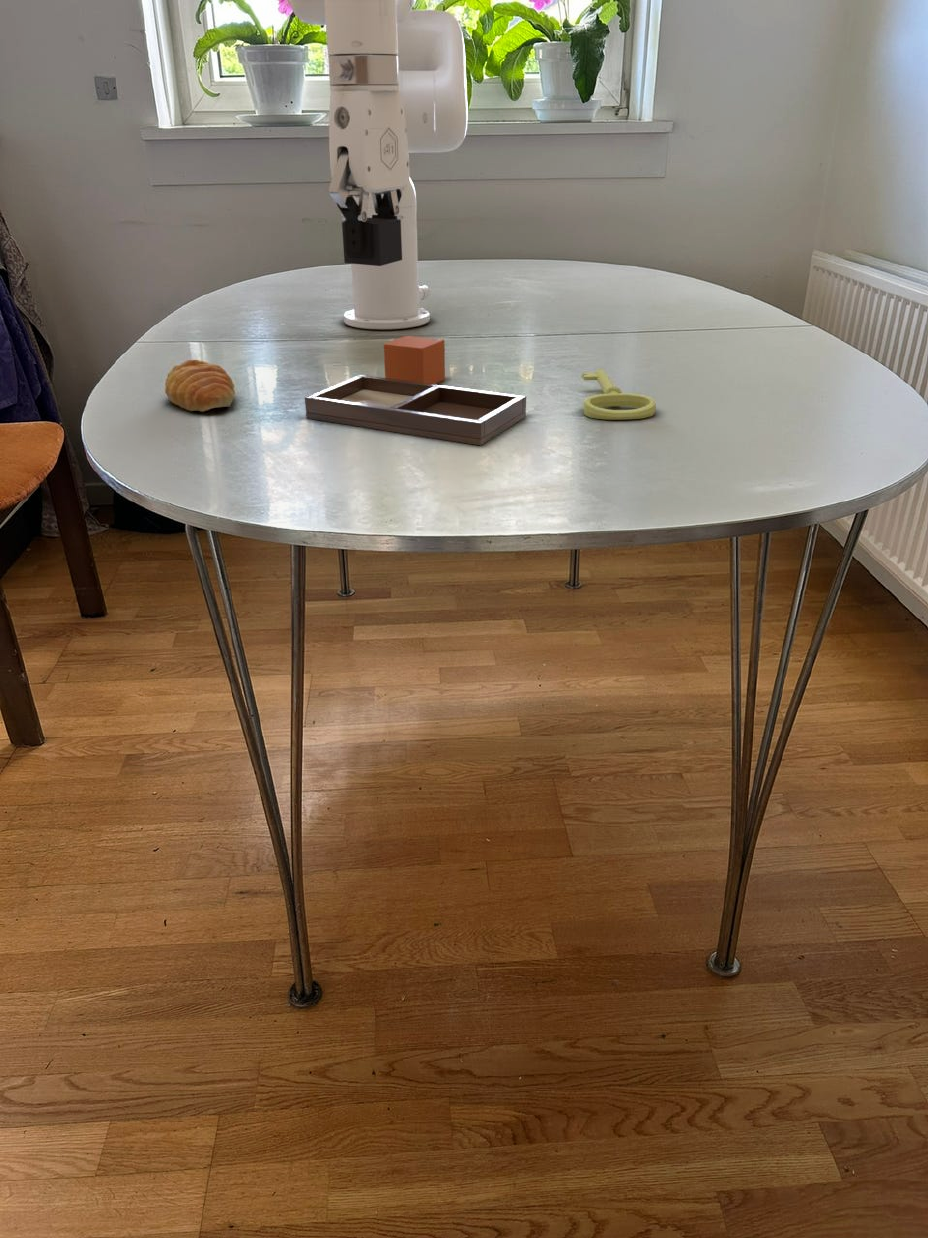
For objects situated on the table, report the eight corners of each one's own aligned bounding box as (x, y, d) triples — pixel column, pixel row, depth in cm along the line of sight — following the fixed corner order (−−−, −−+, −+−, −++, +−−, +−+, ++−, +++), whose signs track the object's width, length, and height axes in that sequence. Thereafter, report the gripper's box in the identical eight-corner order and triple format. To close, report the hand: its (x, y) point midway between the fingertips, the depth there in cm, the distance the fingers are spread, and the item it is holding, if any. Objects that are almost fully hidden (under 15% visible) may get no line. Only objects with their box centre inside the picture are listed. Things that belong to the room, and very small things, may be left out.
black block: (367, 257, 111) (365, 217, 109) (402, 259, 109) (401, 219, 107) (344, 263, 108) (341, 221, 105) (380, 266, 106) (378, 223, 103)
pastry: (251, 409, 95) (246, 372, 93) (186, 419, 92) (180, 381, 90) (222, 389, 102) (217, 354, 100) (161, 398, 99) (155, 362, 97)
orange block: (407, 374, 107) (406, 335, 105) (445, 379, 105) (444, 339, 103) (385, 384, 103) (383, 343, 101) (423, 389, 101) (422, 348, 99)
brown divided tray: (361, 393, 100) (360, 374, 99) (525, 416, 92) (526, 396, 91) (306, 418, 92) (304, 397, 91) (480, 445, 84) (480, 423, 83)
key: (601, 386, 102) (602, 367, 101) (663, 416, 92) (665, 395, 91) (543, 393, 99) (544, 374, 98) (601, 425, 89) (602, 403, 88)
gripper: (349, 74, 91) (360, 267, 100) (432, 76, 104) (435, 247, 113) (288, 75, 94) (304, 262, 103) (376, 77, 107) (384, 243, 116)
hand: (373, 252), depth 108 cm, fingers closed on black block, 5 cm apart
